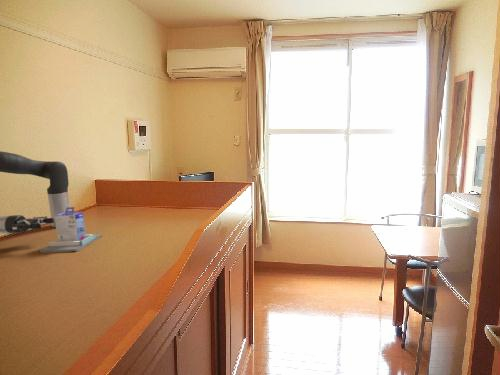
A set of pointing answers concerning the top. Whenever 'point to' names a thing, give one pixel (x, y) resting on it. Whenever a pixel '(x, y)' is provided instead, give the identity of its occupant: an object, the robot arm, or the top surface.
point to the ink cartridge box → (70, 226)
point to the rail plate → (70, 244)
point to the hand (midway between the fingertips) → (47, 223)
